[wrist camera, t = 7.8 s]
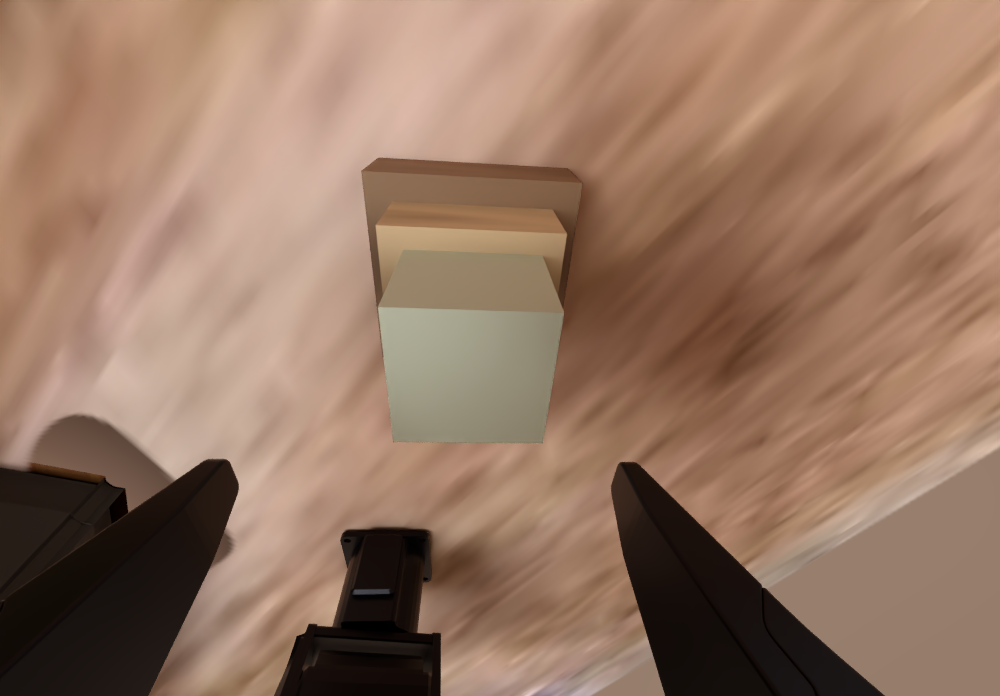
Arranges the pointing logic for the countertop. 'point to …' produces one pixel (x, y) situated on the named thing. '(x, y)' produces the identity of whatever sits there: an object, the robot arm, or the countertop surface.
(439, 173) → the walnut base
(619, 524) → the robot arm
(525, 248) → the oak middle block
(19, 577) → the treasure chest
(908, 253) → the countertop surface
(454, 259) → the cap block
